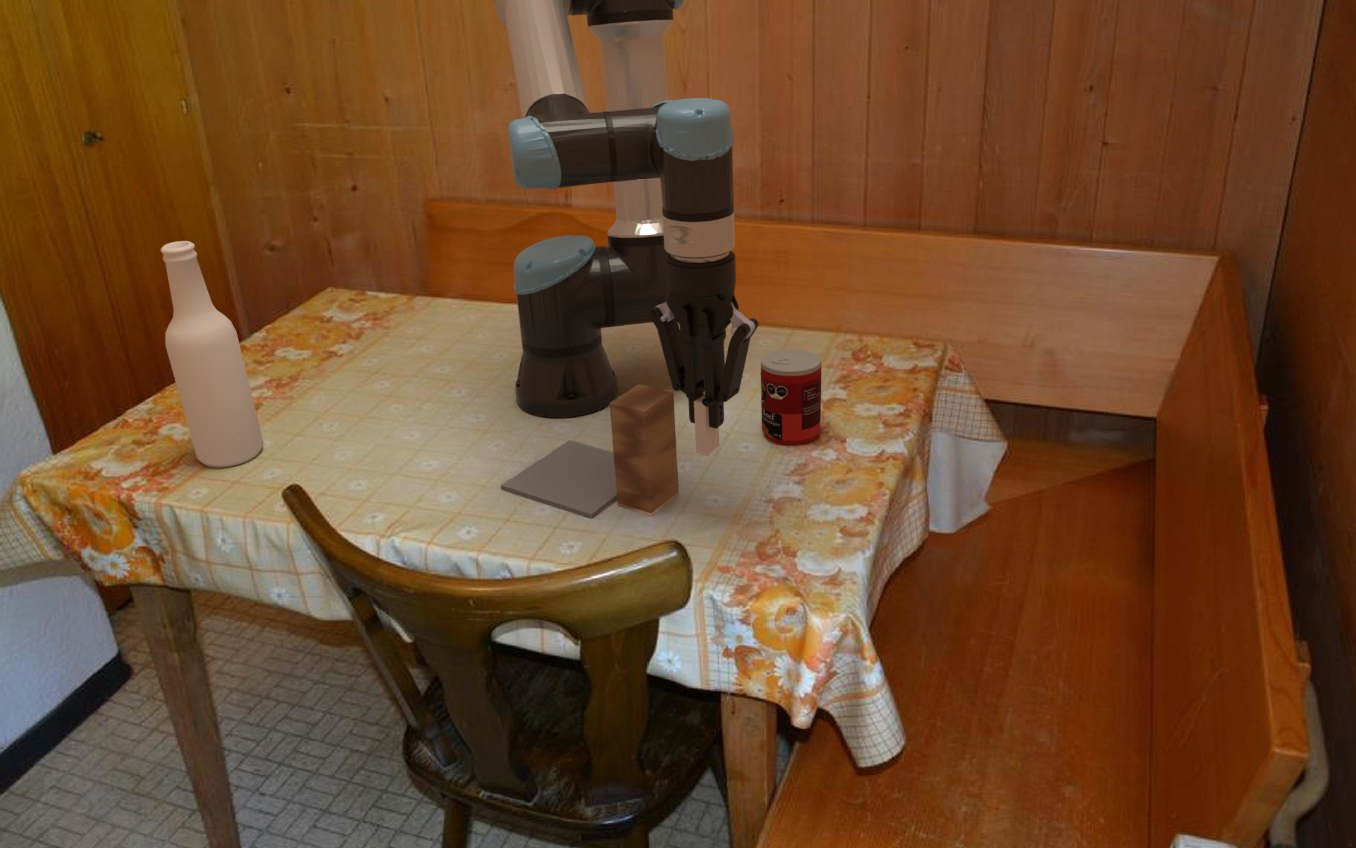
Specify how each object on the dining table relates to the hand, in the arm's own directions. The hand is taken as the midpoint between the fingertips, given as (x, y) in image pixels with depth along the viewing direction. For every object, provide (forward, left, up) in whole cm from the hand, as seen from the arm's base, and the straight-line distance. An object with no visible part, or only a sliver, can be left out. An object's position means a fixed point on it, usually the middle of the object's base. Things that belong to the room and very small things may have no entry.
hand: (707, 449), depth 127 cm
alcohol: (-67, -18, -10) cm, 70 cm away
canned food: (-2, +24, -10) cm, 26 cm away
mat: (-20, 0, -10) cm, 22 cm away
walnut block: (-9, 0, -10) cm, 13 cm away
